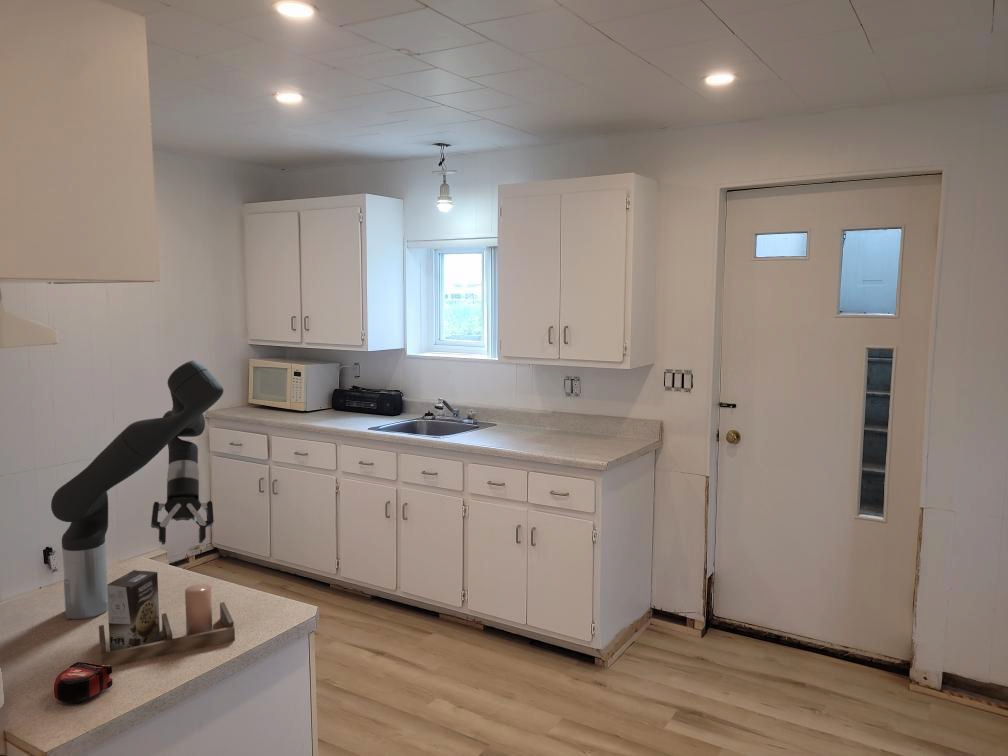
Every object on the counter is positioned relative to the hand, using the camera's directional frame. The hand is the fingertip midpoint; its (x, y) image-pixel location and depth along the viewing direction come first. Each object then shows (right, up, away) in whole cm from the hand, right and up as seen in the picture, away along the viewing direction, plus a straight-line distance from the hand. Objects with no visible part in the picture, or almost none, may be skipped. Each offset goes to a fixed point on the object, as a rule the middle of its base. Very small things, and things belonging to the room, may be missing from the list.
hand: (182, 542), depth 184 cm
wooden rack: (+3, -19, -14) cm, 24 cm away
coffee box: (-4, -20, -16) cm, 26 cm away
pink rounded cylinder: (+8, -19, -10) cm, 23 cm away
